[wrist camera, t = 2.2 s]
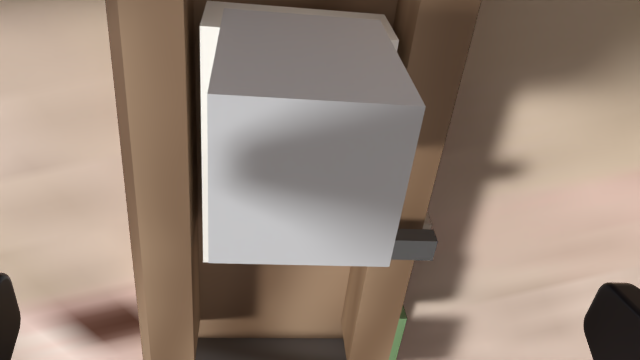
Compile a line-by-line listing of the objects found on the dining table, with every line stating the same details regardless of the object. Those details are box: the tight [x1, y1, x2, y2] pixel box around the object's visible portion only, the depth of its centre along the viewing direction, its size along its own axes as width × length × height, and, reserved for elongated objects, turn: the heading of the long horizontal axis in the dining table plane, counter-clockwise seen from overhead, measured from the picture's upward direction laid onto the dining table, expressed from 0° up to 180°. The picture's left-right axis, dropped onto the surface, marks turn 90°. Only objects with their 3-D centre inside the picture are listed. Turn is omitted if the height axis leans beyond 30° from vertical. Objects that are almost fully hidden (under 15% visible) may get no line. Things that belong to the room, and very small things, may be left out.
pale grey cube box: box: [200, 1, 438, 267], centre depth 16 cm, size 7×8×7 cm
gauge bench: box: [105, 0, 481, 360], centre depth 19 cm, size 11×22×4 cm, turn 174°
